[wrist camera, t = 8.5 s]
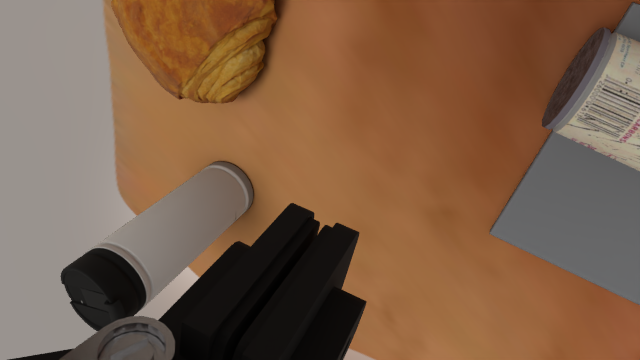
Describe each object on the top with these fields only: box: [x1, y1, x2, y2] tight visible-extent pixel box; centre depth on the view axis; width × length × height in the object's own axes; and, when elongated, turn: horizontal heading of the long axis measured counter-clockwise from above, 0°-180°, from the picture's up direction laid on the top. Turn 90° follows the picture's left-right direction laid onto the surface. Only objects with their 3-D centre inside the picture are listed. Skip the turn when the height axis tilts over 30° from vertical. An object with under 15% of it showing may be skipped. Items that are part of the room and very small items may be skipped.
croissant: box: [111, 0, 277, 103], centre depth 41 cm, size 14×16×8 cm
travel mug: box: [61, 161, 253, 331], centre depth 44 cm, size 6×7×20 cm
